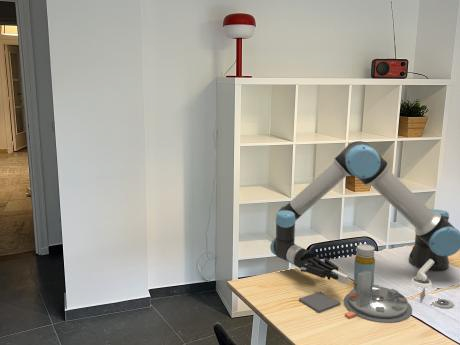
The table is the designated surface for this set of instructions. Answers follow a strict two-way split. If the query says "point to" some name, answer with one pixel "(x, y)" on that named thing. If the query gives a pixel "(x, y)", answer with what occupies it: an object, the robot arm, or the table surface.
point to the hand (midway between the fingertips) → (346, 280)
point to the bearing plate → (391, 320)
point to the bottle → (364, 261)
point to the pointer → (350, 315)
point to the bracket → (438, 303)
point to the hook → (423, 275)
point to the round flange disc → (376, 299)
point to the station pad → (319, 302)
